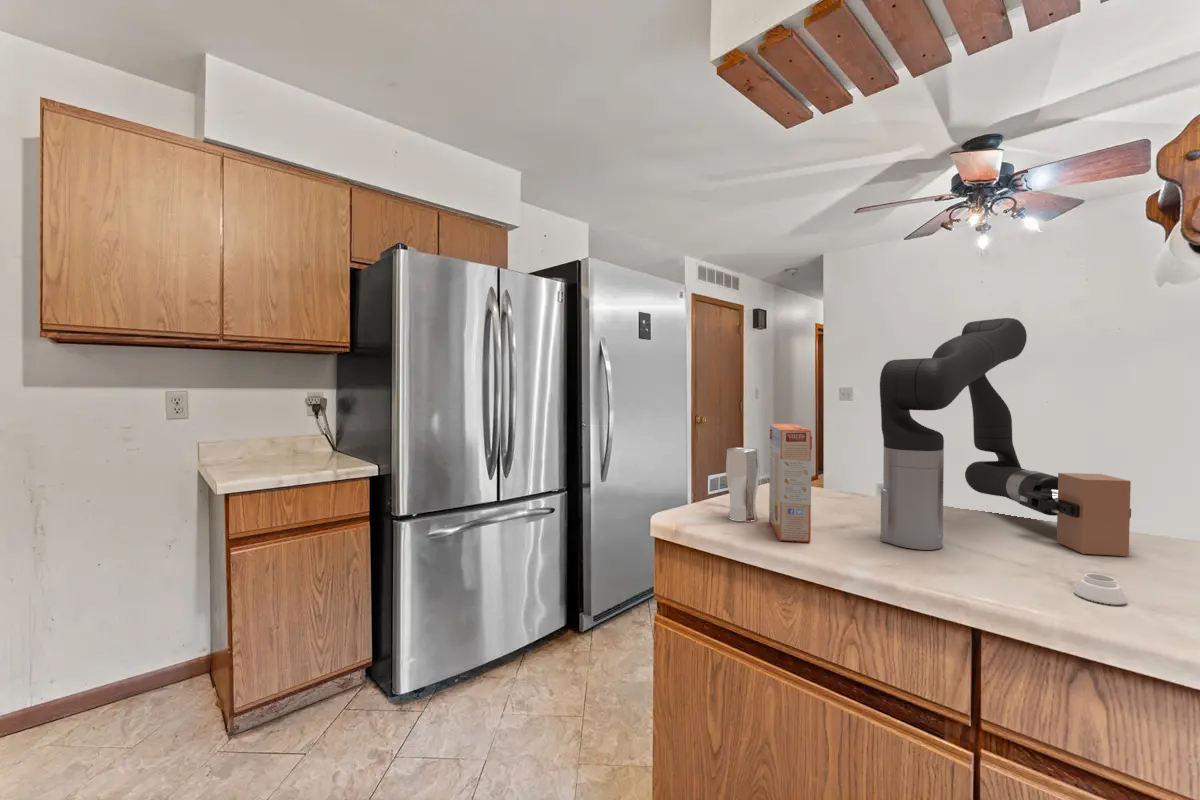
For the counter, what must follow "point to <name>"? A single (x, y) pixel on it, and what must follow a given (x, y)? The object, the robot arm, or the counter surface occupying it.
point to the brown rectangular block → (1095, 514)
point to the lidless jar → (1100, 589)
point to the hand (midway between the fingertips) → (1102, 512)
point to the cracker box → (790, 482)
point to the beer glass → (742, 482)
